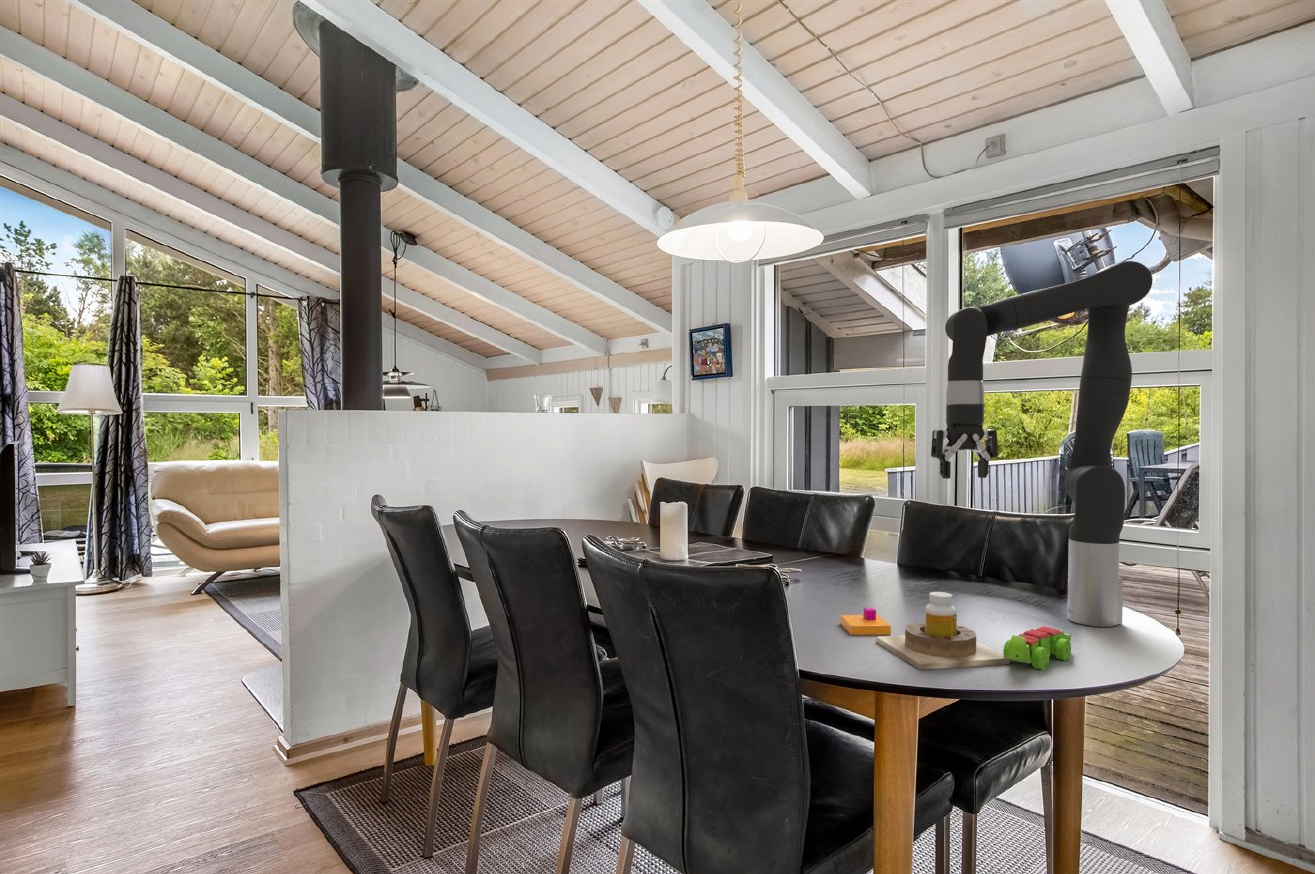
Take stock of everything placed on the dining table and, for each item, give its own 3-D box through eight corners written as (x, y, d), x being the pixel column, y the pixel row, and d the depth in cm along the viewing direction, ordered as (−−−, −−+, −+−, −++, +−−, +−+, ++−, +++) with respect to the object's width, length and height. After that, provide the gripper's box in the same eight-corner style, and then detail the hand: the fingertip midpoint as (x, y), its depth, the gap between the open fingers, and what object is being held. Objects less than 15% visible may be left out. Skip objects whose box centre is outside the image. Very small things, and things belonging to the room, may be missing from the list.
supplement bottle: (958, 652, 133) (959, 598, 133) (927, 650, 135) (927, 596, 134) (953, 643, 139) (954, 591, 138) (923, 641, 140) (923, 589, 140)
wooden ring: (951, 635, 143) (951, 620, 143) (989, 655, 132) (990, 638, 132) (893, 638, 141) (893, 623, 141) (927, 659, 129) (927, 642, 129)
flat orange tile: (890, 636, 148) (891, 615, 148) (851, 636, 148) (851, 615, 148) (878, 625, 156) (878, 605, 156) (840, 625, 156) (840, 605, 156)
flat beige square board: (957, 637, 146) (957, 631, 146) (1009, 663, 130) (1009, 658, 130) (876, 641, 143) (876, 636, 143) (920, 669, 127) (920, 663, 127)
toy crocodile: (1045, 645, 141) (1046, 613, 141) (1083, 654, 136) (1083, 621, 135) (990, 666, 129) (990, 632, 129) (1028, 677, 124) (1029, 641, 124)
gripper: (984, 403, 164) (983, 476, 164) (925, 402, 161) (924, 477, 162) (1006, 402, 157) (1005, 479, 157) (944, 402, 154) (943, 480, 155)
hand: (964, 478), depth 159 cm, fingers open, 8 cm apart
